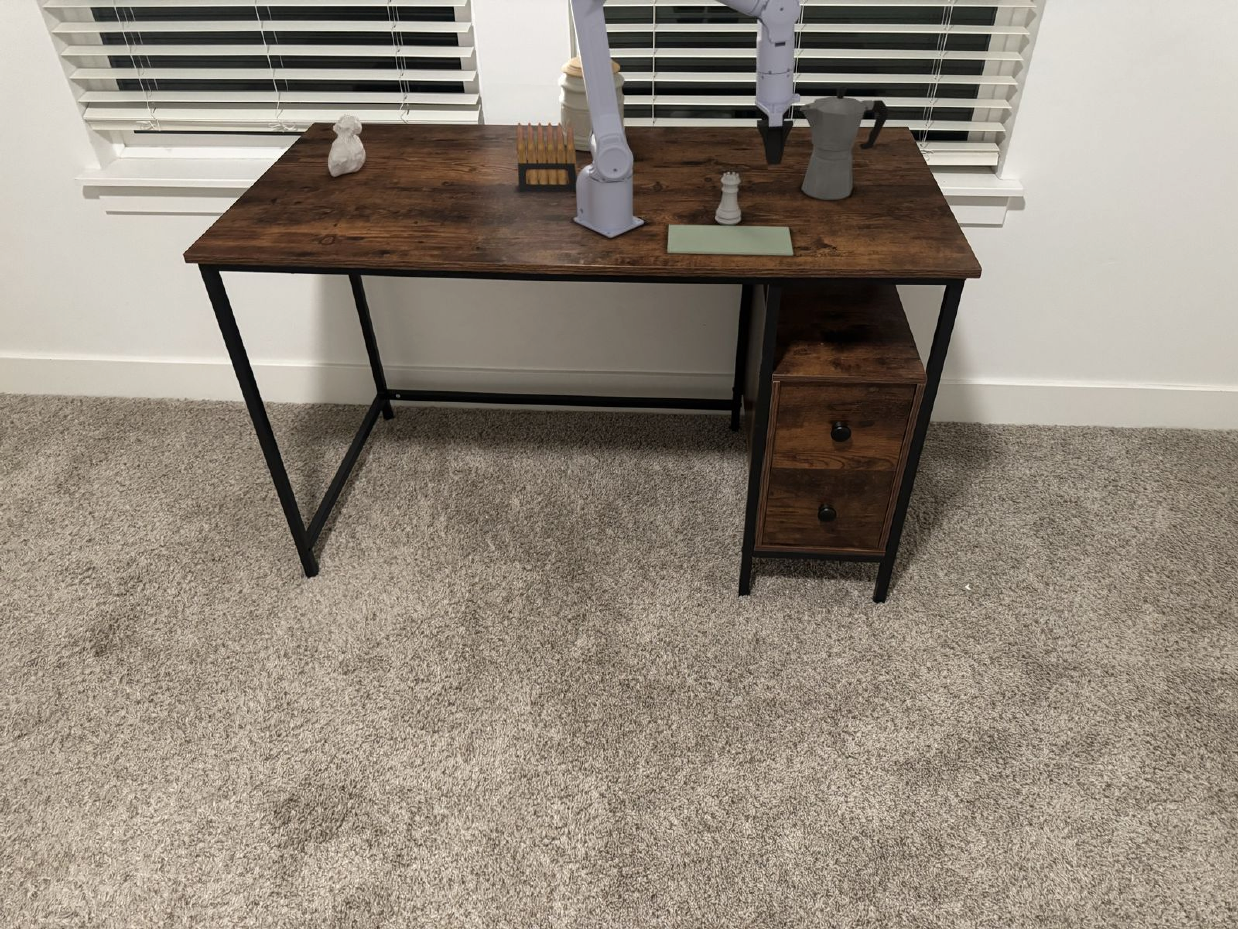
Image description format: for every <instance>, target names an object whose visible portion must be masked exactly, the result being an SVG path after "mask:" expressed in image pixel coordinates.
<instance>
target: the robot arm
mask: <svg viewBox="0 0 1238 929" xmlns="http://www.w3.org/2000/svg"><path fill="white" fill-rule="evenodd" d="M714 1H715V2H717V3H720V4H722V5H724V6H726V7H729V8H730V9H733V10H735V11H737V12H739V13H741V14H744V15H746V16H748V17H756V18H757V22H756V23H757V26H756V29H757V31H756V33H757V34H756V35H757V36H756V60H755V61H756V69H755V74H756V77H755V79H756V80H755V85H756V86H755V89H756V90H755V92H756V93H755V97H754V105H755V107H756V109H757V111H758V114H759V116H760V119H756V129H757V131H758V132H759V134H760V136H761V140H762V142H763V148H764V155H765V160H766V163H767V165H768V166H772V165H773V166H774V165H781V163H782V161H783V158H784V157H783V156H784V151H785V147H786V142H787V140H788V137H789V134H790V133H791V131H792V130H793V127H794V120H793V119H792V120H785V118H786V116H787V113H788V111H789V109H790V107H791V106H792V105H794V103H800V102H801V95H800V94H799V93H794V72H795V71H794V68H795V43H796V42H795V41H796V36H795V25H796V22H797V21H798V20H799V17H800V16H801V13H802V5H800V0H714ZM606 2H607V0H569V3H570V9H571V14H572V21H573V26H574V31H575V37H576V43H577V48H578V56H580V61H581V66H582V72H583V78H584V84H585V89H586V95H587V101H588V106H589V112H590V122H591V133H590V136H589V141H588V144H589V149H590V151H589V152H590V153H591V157H592V163H591V164H589V165H586V166H584V167H583V168H582V169H581V170H580V171H579V173H578V174H577V182H576V191H575V192H576V194H575V195H576V216H575V217H574V218H573V221H574V222H575V223H576V224H579V225H582V226H583V227H586V228H588V229H590V230H593V231H595V232H597V233H599V234H601V235H603V236H605V237H607V238H614V237H617V236H619V235H621V234H624V233H626V232H628V231H630V230H632V229H635V228H636V227H639V226H642V225H644V223H645V221H644V220H643V219H641V218H638V217H636V216H634V200H633V199H634V173H633V172H634V170H633V165H634V155H633V152H632V150H631V149H630V147H629V144H628V142H627V141H628V140H627V135H626V132H625V133H624V131H623V130H622V125H621V120H620V116H619V109H618V103H617V96H616V90H615V83H614V77H613V70H612V64H611V59H612V57H611V51H610V45H609V38H608V33H607V32H608V31H607V25H606V19H605V12H604V5H605V3H606Z"/></svg>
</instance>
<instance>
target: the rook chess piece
mask: <svg viewBox="0 0 1238 929" xmlns="http://www.w3.org/2000/svg"><path fill="white" fill-rule="evenodd" d="M741 182H742V181H741V178H740V175H739V173H736V172H734V171H732V173H731V172H730V171H727V172H724V173H723V177H722V178H720V183H721V184H722V187H721V191H722V196H721V201H720V203H719V205H718V208H716V210H715V216H714V219H715V221H716V222H717V223H718V224H719V225H721V226H736V225H738V224H739V223H740V222H741V220H742V216H741V215H742V212H741V211H742V210H741V209H740V206H739V204H738V192H739V188H738V186H739V185H740V183H741Z"/></svg>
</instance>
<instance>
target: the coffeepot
mask: <svg viewBox="0 0 1238 929" xmlns="http://www.w3.org/2000/svg"><path fill="white" fill-rule="evenodd" d="M846 91H847V87H845V86H843V85H842V86H837V87H836V96H835V95H832V96H826V97H820V98H816V99H814V101H813V102H810V103H806V104H804V105H801V106H800V108H799V112H801V113H803V114H804V115H803V116H805V119H806V121H807V123H808V126H809V127H810V128H809V129H810V130H811V144H812V145H813V148H812V153H811V155H810V158H809V162H808V165H807V168H806V172H805V175H804V179H803V182H802V185H801V191H802V192H803V193H804V194H806V195H807V196H809V197H811V198H814V199H817V200H823V201H836V200H837V201H838V200H842V199H845V198H847V197H849V196H850V195H851V193H852V190H853V154H852V152H853V148H854V146H855V143H856V141H857V136H858V135H859V134H858V133H859V131H860V127H861V124H862V121H863V117H864V114H871V113H876V112H877V113H878V115H877V117H876V119H875V121H874V125H873V128H872V129H871V130H870V132H869V135H868V139H867V141H866V142H863V143H860V144H859V146H860V149H861V150H869V149H872V148H873V147H874V144H875V143H876V141H877V139H878V137H879V135H880V133H881V131H882V129H883V128H884V125H885V123H886V122H887V120H888V118H889V115H890V110H889V108H888V106H887V105H886V104H885V102H884V101H883V100H882V99H876V100H875V99H874V100H873V99H871V100H870V99H869V100H868V99H867V100H858V99H856V98H853V97H846V96H845V94H846ZM844 96H845V97H844Z"/></svg>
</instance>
